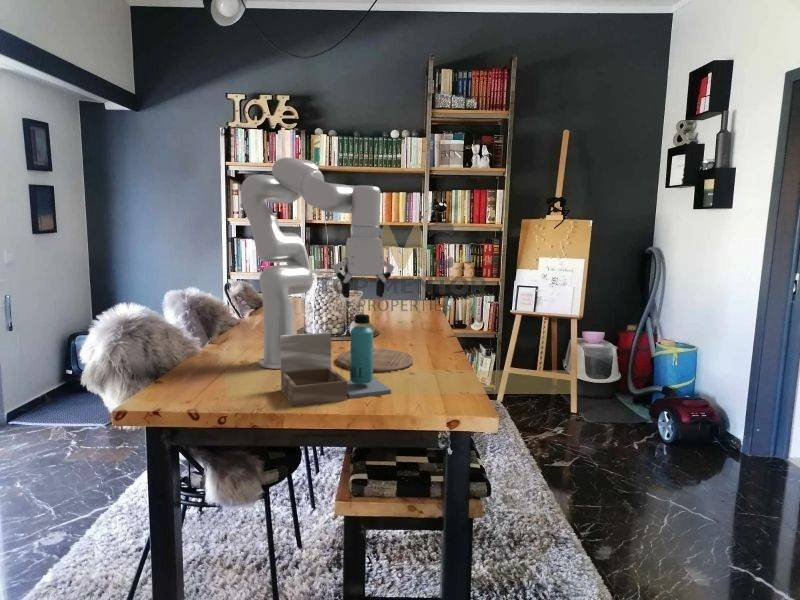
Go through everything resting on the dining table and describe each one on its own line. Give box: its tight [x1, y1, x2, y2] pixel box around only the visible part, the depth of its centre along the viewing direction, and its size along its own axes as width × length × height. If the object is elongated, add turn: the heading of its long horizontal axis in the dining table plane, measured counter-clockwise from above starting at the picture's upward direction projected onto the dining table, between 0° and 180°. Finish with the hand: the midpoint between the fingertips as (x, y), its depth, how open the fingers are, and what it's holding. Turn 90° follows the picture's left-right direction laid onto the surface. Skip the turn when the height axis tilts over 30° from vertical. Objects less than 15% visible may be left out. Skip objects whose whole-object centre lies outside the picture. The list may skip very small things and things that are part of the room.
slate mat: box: [346, 377, 392, 399], centre depth 146 cm, size 12×12×1 cm
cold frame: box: [280, 331, 348, 407], centre depth 139 cm, size 15×14×15 cm
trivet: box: [336, 348, 414, 374], centre depth 174 cm, size 25×25×2 cm
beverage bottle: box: [349, 313, 374, 384], centre depth 144 cm, size 6×7×20 cm
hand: (363, 296), depth 142 cm, fingers open, 9 cm apart
